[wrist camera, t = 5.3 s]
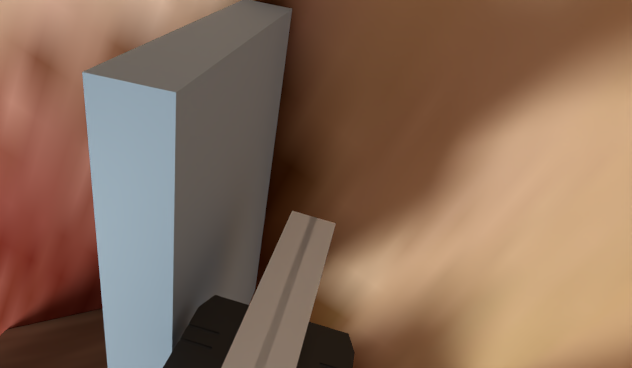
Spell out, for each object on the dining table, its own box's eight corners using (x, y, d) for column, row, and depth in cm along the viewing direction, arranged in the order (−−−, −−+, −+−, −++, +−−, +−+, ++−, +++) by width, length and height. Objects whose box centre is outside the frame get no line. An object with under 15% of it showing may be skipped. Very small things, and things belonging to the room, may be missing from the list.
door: (196, 274, 22) (78, 470, 14) (209, -9, 16) (13, 56, 8) (255, 289, 21) (169, 496, 14) (292, 8, 15) (176, 92, 8)
